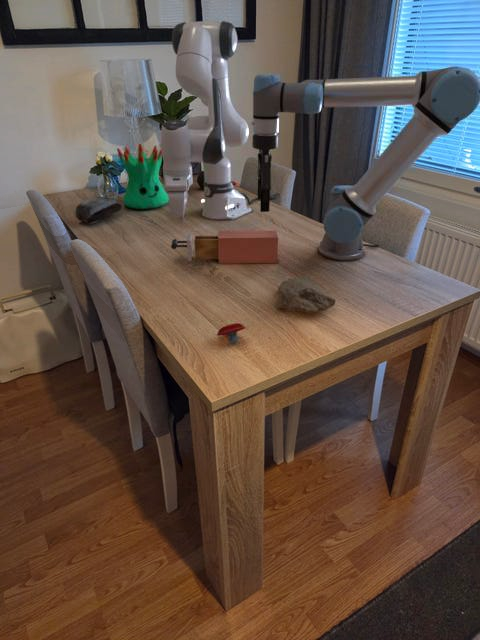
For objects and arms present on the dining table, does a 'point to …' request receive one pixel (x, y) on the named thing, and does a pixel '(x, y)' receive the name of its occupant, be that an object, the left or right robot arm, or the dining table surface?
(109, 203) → the rock
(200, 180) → the toy
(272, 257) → the cabinet
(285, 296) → the artifact
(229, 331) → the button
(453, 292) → the dining table surface
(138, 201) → the toy
